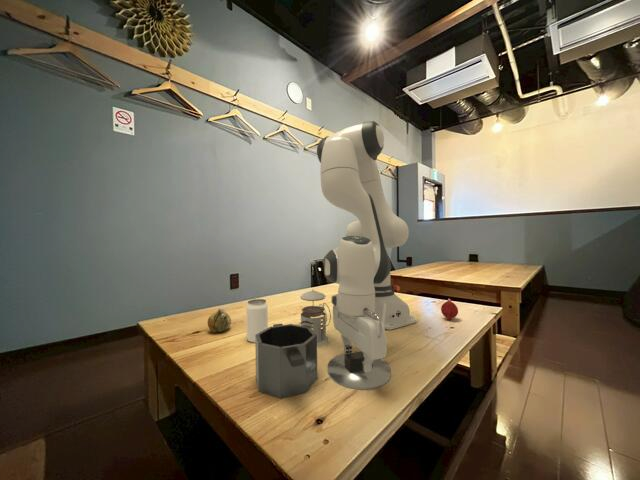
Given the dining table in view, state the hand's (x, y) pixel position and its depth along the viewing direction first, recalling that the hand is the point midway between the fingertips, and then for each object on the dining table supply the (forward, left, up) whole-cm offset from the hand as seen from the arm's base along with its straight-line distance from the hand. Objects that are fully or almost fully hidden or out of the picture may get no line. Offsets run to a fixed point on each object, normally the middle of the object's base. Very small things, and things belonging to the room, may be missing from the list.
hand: (356, 360), depth 60 cm
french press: (+4, -20, -3) cm, 20 cm away
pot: (+17, -3, -2) cm, 17 cm away
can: (+20, -28, -3) cm, 34 cm away
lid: (0, 0, -3) cm, 3 cm away
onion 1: (+32, -40, -3) cm, 51 cm away
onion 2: (-51, -19, -3) cm, 54 cm away
